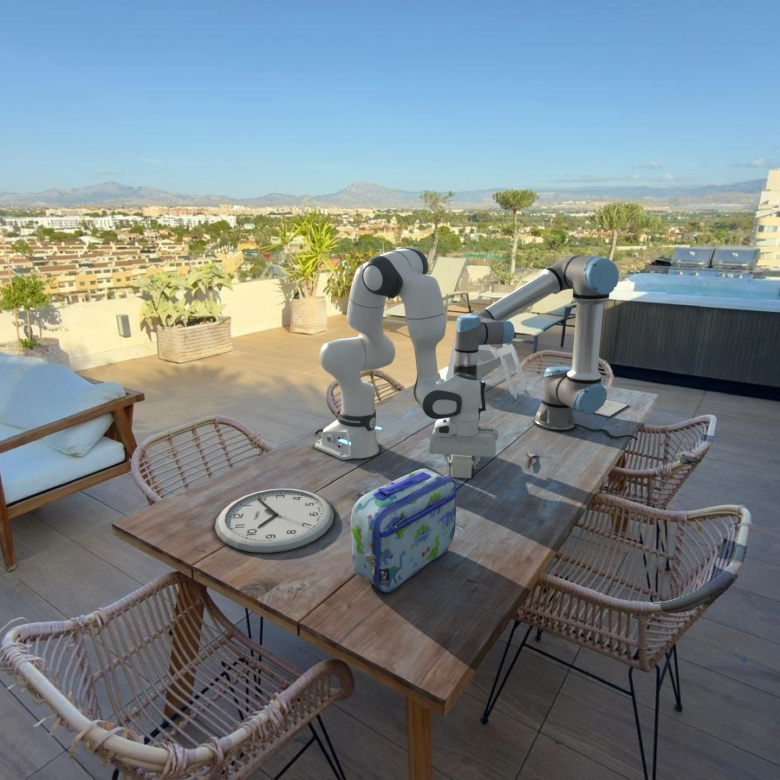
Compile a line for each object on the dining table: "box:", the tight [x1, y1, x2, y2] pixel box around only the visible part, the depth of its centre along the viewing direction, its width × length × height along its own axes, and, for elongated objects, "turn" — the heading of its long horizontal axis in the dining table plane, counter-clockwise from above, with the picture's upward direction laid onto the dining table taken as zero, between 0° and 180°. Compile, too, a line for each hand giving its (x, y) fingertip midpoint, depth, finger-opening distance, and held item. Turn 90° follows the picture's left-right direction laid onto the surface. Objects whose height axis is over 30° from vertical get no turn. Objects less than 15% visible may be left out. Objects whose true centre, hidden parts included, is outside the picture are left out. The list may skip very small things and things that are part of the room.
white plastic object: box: [438, 338, 531, 400], centre depth 245 cm, size 37×45×31 cm
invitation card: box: [593, 399, 629, 418], centre depth 226 cm, size 21×1×15 cm
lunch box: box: [350, 468, 457, 593], centre depth 114 cm, size 26×11×21 cm, turn 134°
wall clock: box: [214, 488, 335, 554], centre depth 135 cm, size 30×2×30 cm
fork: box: [527, 445, 537, 469], centre depth 172 cm, size 3×16×2 cm, turn 160°
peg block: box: [450, 455, 473, 479], centre depth 170 cm, size 6×24×6 cm, turn 173°
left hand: (461, 467), depth 162 cm, fingers closed on peg block, 6 cm apart
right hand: (461, 428), depth 176 cm, fingers open, 8 cm apart
